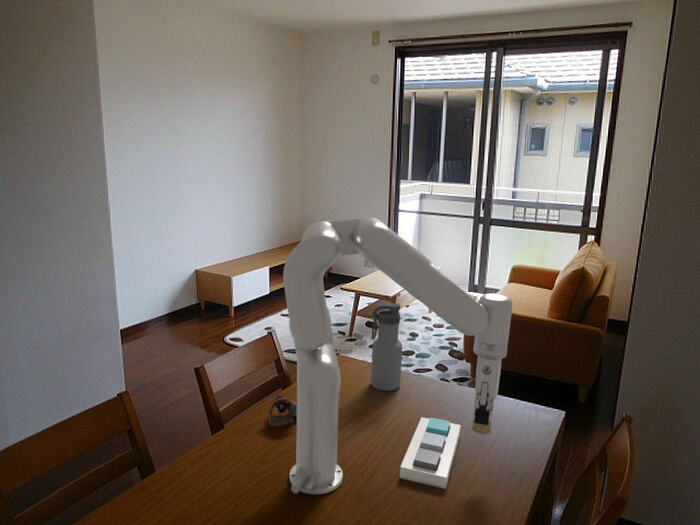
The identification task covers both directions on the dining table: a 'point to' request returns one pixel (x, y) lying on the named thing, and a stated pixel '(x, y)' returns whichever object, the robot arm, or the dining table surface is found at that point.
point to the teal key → (438, 426)
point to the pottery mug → (282, 411)
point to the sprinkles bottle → (480, 427)
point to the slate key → (433, 442)
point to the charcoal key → (427, 459)
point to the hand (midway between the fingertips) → (482, 417)
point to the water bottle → (386, 348)
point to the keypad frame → (446, 458)
